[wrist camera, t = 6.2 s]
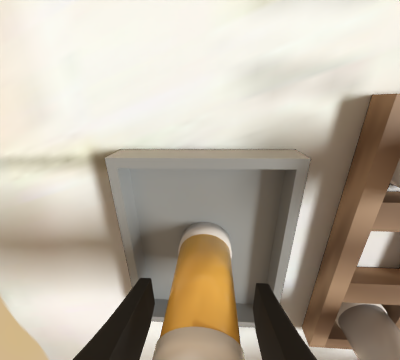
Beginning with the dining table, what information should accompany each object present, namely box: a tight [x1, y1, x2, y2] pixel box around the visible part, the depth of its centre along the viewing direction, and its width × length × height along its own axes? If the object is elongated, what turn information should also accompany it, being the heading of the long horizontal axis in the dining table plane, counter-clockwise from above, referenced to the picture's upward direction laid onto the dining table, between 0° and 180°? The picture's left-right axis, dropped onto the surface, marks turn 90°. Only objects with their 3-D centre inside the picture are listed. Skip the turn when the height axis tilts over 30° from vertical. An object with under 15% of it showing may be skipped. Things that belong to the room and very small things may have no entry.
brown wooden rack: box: [302, 94, 400, 349], centre depth 13 cm, size 20×7×2 cm, turn 1°
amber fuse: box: [152, 222, 245, 360], centre depth 11 cm, size 4×4×8 cm
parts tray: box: [105, 149, 311, 327], centre depth 14 cm, size 14×11×2 cm
